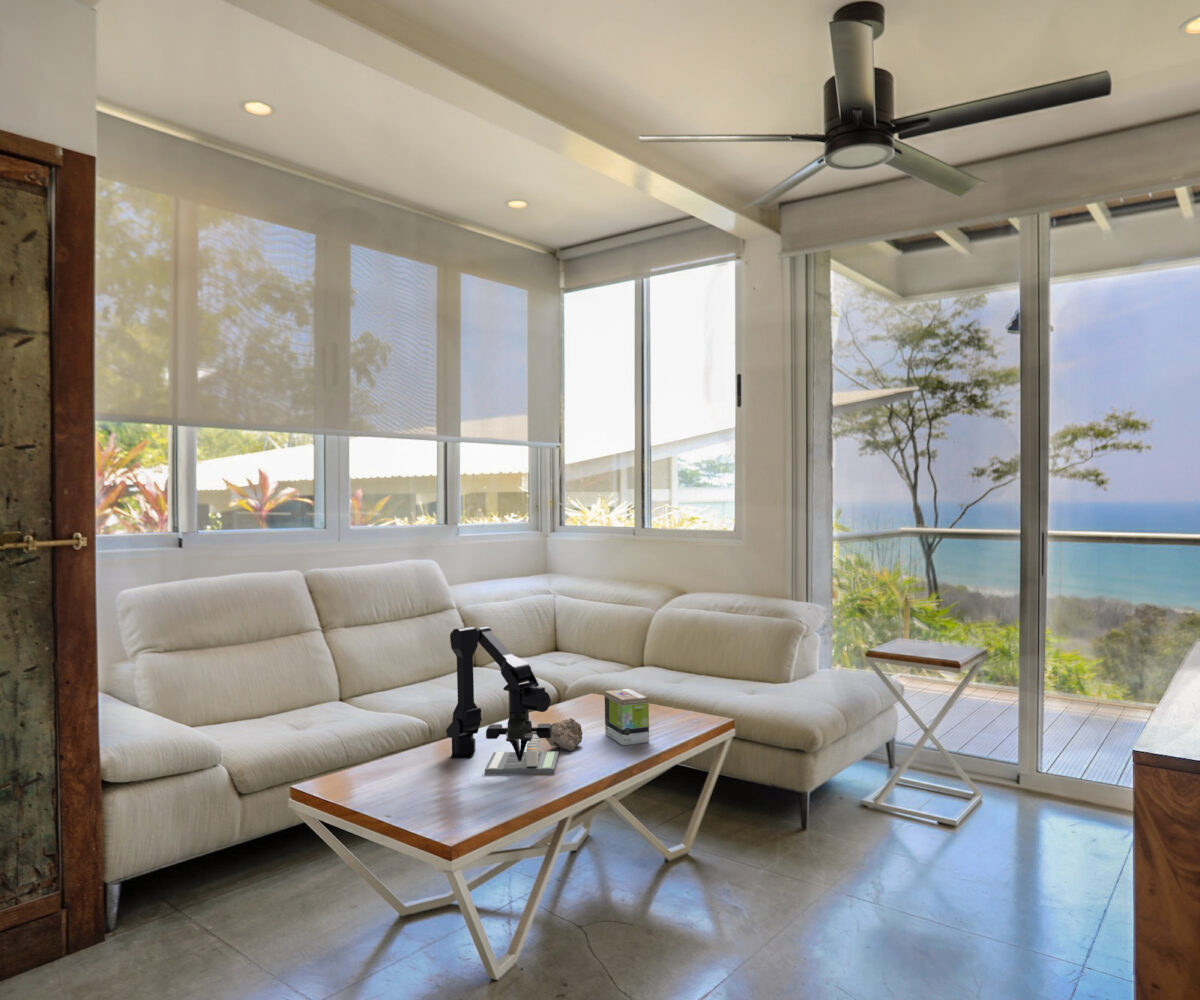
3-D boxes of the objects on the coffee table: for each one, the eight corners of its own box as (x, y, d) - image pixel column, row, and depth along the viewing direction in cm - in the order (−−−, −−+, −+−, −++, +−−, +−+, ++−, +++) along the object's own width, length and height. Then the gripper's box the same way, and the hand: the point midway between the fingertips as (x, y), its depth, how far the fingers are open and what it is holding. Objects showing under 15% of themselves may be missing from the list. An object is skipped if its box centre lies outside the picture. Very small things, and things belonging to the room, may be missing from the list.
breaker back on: (529, 754, 248) (529, 739, 248) (530, 751, 251) (530, 736, 251) (539, 754, 248) (538, 739, 248) (540, 751, 251) (540, 736, 251)
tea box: (650, 742, 264) (649, 696, 264) (621, 746, 261) (620, 699, 261) (631, 730, 278) (630, 687, 278) (604, 734, 275) (603, 690, 275)
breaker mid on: (527, 760, 242) (526, 744, 242) (528, 757, 245) (528, 741, 245) (537, 760, 242) (537, 744, 242) (538, 757, 245) (538, 741, 245)
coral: (565, 756, 252) (553, 725, 253) (547, 761, 258) (534, 731, 259) (594, 738, 263) (581, 709, 264) (575, 743, 269) (563, 715, 270)
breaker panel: (484, 774, 236) (484, 768, 236) (493, 757, 252) (493, 751, 252) (554, 773, 236) (554, 768, 236) (558, 756, 252) (558, 751, 252)
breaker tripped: (526, 766, 237) (526, 750, 237) (527, 763, 240) (527, 747, 240) (536, 766, 237) (536, 750, 237) (538, 762, 240) (537, 747, 240)
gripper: (481, 714, 231) (483, 770, 231) (548, 713, 230) (549, 769, 230) (488, 704, 242) (489, 757, 242) (551, 703, 241) (553, 757, 241)
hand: (520, 760), depth 238 cm, fingers closed
